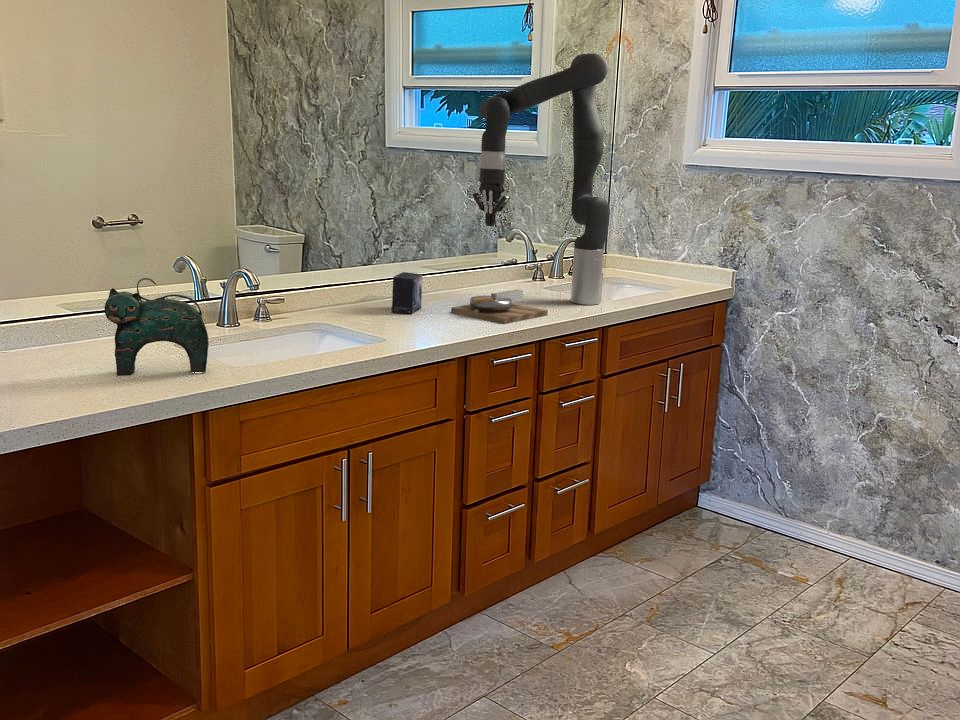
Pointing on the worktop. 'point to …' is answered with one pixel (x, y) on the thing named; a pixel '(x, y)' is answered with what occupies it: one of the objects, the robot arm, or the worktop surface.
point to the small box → (407, 293)
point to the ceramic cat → (155, 327)
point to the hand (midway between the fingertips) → (490, 225)
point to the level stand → (501, 313)
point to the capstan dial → (497, 300)
